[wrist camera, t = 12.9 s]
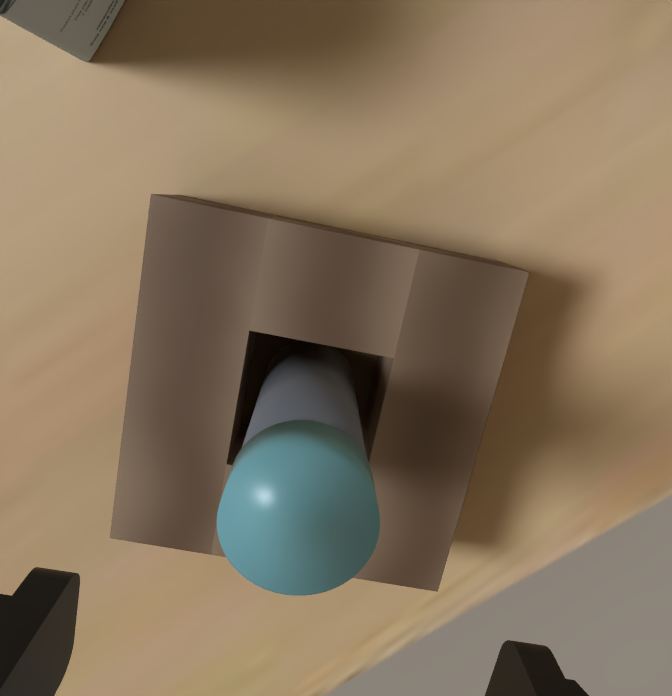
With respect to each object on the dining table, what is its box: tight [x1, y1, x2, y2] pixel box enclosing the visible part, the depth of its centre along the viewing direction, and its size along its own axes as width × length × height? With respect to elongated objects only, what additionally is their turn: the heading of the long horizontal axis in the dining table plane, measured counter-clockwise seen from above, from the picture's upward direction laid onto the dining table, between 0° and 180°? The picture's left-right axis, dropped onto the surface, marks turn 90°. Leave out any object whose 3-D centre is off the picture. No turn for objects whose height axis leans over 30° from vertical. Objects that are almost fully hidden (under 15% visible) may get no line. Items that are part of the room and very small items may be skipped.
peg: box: [217, 340, 380, 595], centre depth 21 cm, size 4×4×12 cm
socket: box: [110, 194, 529, 592], centre depth 24 cm, size 14×14×4 cm
